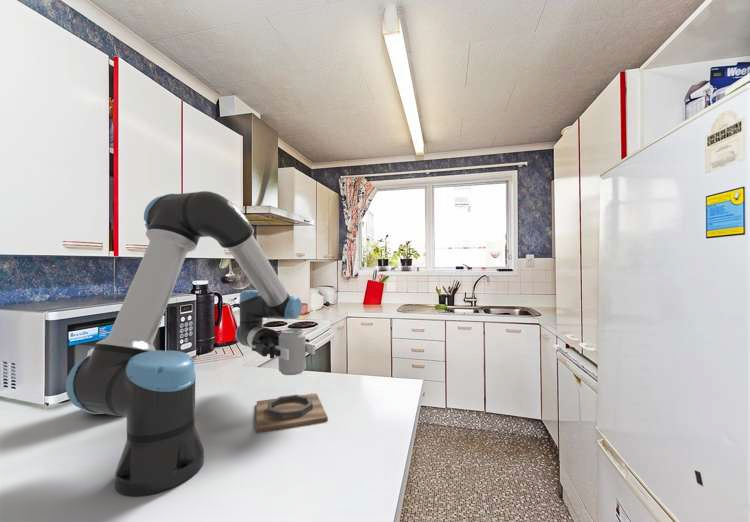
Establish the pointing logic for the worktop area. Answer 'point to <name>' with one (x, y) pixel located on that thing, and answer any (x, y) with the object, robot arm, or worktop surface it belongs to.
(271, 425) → the ring board
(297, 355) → the can
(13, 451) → the worktop surface
